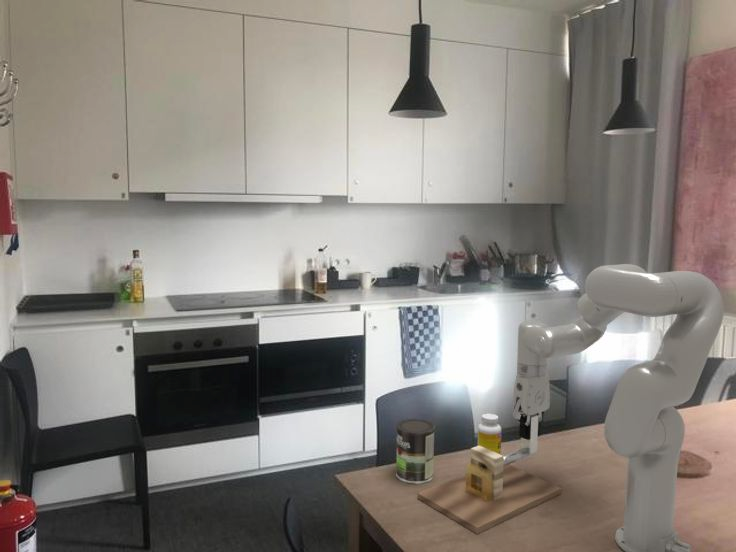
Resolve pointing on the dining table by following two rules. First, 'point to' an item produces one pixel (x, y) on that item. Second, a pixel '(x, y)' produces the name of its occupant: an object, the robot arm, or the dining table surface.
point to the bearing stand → (509, 494)
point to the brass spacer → (487, 481)
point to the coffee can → (415, 451)
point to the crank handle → (524, 444)
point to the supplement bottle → (490, 433)
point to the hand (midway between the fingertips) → (529, 435)
